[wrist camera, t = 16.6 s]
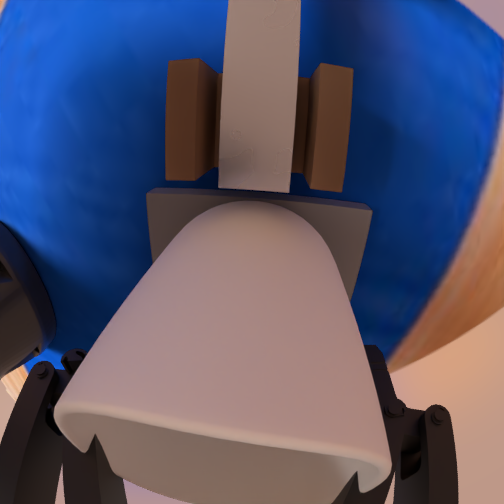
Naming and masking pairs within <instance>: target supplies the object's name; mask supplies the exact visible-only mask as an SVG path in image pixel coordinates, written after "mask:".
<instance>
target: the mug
mask: <svg viewBox="0 0 504 504" xmlns="http://www.w3.org/2000/svg"><path fill="white" fill-rule="evenodd" d="M54 419H55V422H56V424H57V426H58V427H59V429H60V430H61V432H62V433H63V434H64V435H65V437H66V438H67V439H68V440H69V441H70V442H71V443H72V444H73V445H74V446H75V447H77V448H78V449H79V450H80V451H81V452H84V453H85V452H86V451H87V450H88V448H89V446H90V444H91V441H92V439H93V437H94V435H95V434H96V436H97V438H98V440H99V441H100V443H101V445H102V447H103V450H104V452H105V455H106V457H107V459H108V461H109V464H110V467H111V469H112V471H113V472H114V473H115V474H116V475H117V476H119V477H121V478H123V479H125V480H127V481H129V482H132V483H134V484H136V485H138V486H140V487H143V488H145V489H147V490H150V491H153V492H155V493H158V494H161V495H164V496H167V497H170V498H173V499H177V500H180V501H184V502H189V503H192V504H331V503H332V502H333V501H334V500H335V499H336V497H337V496H338V495H339V493H340V492H341V490H342V489H343V488H344V486H345V485H346V484H347V482H348V481H349V480H350V478H351V477H352V476H353V474H354V473H355V472H356V471H357V473H358V483H359V490H360V492H362V493H365V492H367V491H369V490H371V489H373V488H375V487H376V486H378V485H380V484H381V483H382V482H383V481H384V480H386V479H387V477H388V476H389V474H390V472H391V467H392V462H391V456H390V451H389V445H388V440H387V435H386V431H385V426H384V422H383V417H382V413H381V408H380V404H379V400H378V396H377V392H376V388H375V384H374V381H373V377H372V373H371V370H370V366H369V362H368V359H367V355H366V352H365V349H364V345H363V342H362V339H361V335H360V332H359V329H358V326H357V323H356V320H355V317H354V314H353V311H352V308H351V305H350V302H349V299H348V296H347V293H346V290H345V287H344V284H343V282H342V279H341V276H340V273H339V271H338V268H337V265H336V263H335V260H334V258H333V256H332V254H331V252H330V249H329V248H328V246H327V244H326V243H325V241H324V240H323V238H322V237H321V235H320V234H319V233H318V232H317V231H316V230H315V229H314V228H313V227H312V225H310V224H309V223H308V222H307V221H306V220H304V219H303V218H302V217H300V216H299V215H297V214H295V213H294V212H292V211H290V210H288V209H286V208H283V207H281V206H278V205H274V204H271V203H267V202H260V201H236V202H230V203H226V204H221V205H219V206H216V207H214V208H211V209H209V210H207V211H205V212H203V213H202V214H200V215H198V216H197V217H195V218H194V219H193V220H192V221H190V222H189V223H188V224H187V225H186V226H185V227H184V228H183V229H182V230H181V231H180V232H179V233H178V234H177V235H176V236H175V238H174V239H173V240H172V241H171V242H170V244H169V245H168V246H167V247H166V248H165V250H164V251H163V252H162V253H161V255H160V256H159V257H158V258H157V260H156V261H155V262H154V263H153V265H152V266H151V267H150V268H149V270H148V271H147V272H146V273H145V275H144V276H143V277H142V279H141V280H140V281H139V282H138V284H137V285H136V286H135V288H134V289H133V290H132V292H131V293H130V294H129V296H128V297H127V298H126V300H125V301H124V302H123V304H122V305H121V306H120V308H119V309H118V311H117V312H116V313H115V315H114V316H113V318H112V319H111V320H110V322H109V323H108V325H107V326H106V327H105V329H104V330H103V332H102V333H101V335H100V336H99V337H98V339H97V340H96V342H95V343H94V345H93V346H92V348H91V349H90V351H89V352H88V354H87V355H86V357H85V358H84V360H83V361H82V363H81V365H80V366H79V368H78V369H77V371H76V372H75V374H74V376H73V377H72V379H71V380H70V382H69V384H68V385H67V387H66V388H65V390H64V392H63V393H62V395H61V397H60V398H59V400H58V402H57V404H56V405H55V408H54Z"/></svg>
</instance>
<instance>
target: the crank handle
mask: <svg viewBox="0 0 504 504" xmlns="http://www.w3.org/2000/svg"><path fill="white" fill-rule="evenodd" d="M300 12H301V0H229V4H228V14H227V26H226V38H225V51H224V65H223V80H222V98H221V119H220V145H219V181H218V188H231V189H247V190H260V191H273V192H284V193H289V188H290V177H291V165H292V154H293V141H294V128H295V114H296V99H297V83H298V64H299V42H300Z"/></svg>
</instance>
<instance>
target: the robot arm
mask: <svg viewBox="0 0 504 504" xmlns="http://www.w3.org/2000/svg"><path fill="white" fill-rule="evenodd" d="M55 334H56V321H55V316H54V312H53V308H52V305H51V302H50V300H49V297H48V295H47V292H46V290H45V288H44V286H43V283H42V281H41V279H40V277H39V275H38V273H37V272H36V270H35V268H34V266H33V264H32V263H31V261H30V259H29V258H28V256H27V254H26V253H25V251H24V250H23V248H22V247H21V246H20V244H19V243H18V241H17V240H16V239H15V238H14V236H13V235H12V234H11V233H10V232H9V231H8V229H7V228H6V227H5V226H3V225H2V224H1V223H0V380H1V378H2V377H4V376H5V375H6V374H8V373H10V372H11V371H13V370H15V369H16V368H18V367H20V366H21V365H23V364H25V363H26V362H28V361H29V360H31V359H32V358H34V357H36V356H38V355H40V354H41V353H42V352H43V351H44V350H45V349H46V348H47V346H48V345H49V344H50V343H51V341H52V340H53V339H54V337H55ZM364 349H365V352H366V355H367V359H368V362H369V366H370V370H371V373H372V377H373V381H374V384H375V388H376V392H377V396H378V400H379V404H380V408H381V413H382V417H383V422H384V426H385V431H386V435H387V440H388V445H389V451H390V456H391V462H392V467H391V472H390V474H389V476H388V477H387V479H386V480H384V481H383V482H382V483H381V484H380V485H378V486H376V487H375V488H373V489H371V490H369V491H367V492H365V493H362V492H360V490H359V483H358V473H357V471H356V472H355V473H354V474H353V476H352V477H351V478H350V480H349V481H348V482H347V484H346V485H345V486H344V488H343V489H342V490H341V492H340V493H339V495H338V496H337V497H336V499H335V500H334V501H333V502H332V503H331V504H384V503H385V500H386V497H387V494H388V492H389V489H390V485H391V482H392V479H393V475H394V472H395V487H394V501H393V504H458V473H457V461H456V451H455V442H454V435H453V429H452V422H451V417H450V414H449V412H448V410H447V409H446V408H445V407H443V406H441V405H431V406H430V407H429V408H428V409H427V410H426V411H422V410H416V409H410V408H407V407H406V405H405V404H404V403H403V402H402V401H401V400H399V399H397V397H396V394H395V391H394V388H393V384H392V381H391V378H390V375H389V372H388V371H387V366H386V363H385V360H384V357H383V354H382V352H381V351H380V350H379V349H378V347H377V346H376V345H364ZM87 354H88V353H87V352H86V351H84V350H82V349H72V350H70V351H68V352H66V353H65V354H64V355H63V356H62V358H61V363H62V365H63V366H64V368H65V370H59V369H55V368H54V366H53V365H52V364H51V363H50V362H48V361H41V362H38V363H36V364H35V365H34V366H33V368H32V369H31V371H30V373H29V375H28V377H27V379H26V381H25V383H24V385H23V388H22V390H21V392H20V394H19V396H18V399H17V401H16V403H15V406H14V408H13V411H12V413H11V416H10V418H9V421H8V423H7V426H6V429H5V432H4V435H3V437H2V441H1V444H0V504H55V499H56V492H57V487H58V481H59V476H60V471H61V466H62V464H63V485H64V497H65V504H127V499H126V494H125V489H124V483H123V478H121V477H119V476H117V475H116V474H115V473H114V472H113V471H112V469H111V467H110V464H109V461H108V459H107V457H106V455H105V452H104V450H103V447H102V445H101V443H100V441H99V440H98V438H97V436H96V434H95V435H94V437H93V439H92V441H91V444H90V446H89V448H88V450H87V451H86V452H85V453H84V452H81V451H80V450H79V449H78V448H77V447H75V446H74V445H73V444H72V443H71V442H70V441H69V440H68V439H67V438H66V437H65V435H64V434H63V433H62V432H61V430H60V429H59V427H58V426H57V424H56V422H55V419H54V408H55V405H56V404H57V402H58V400H59V398H60V397H61V395H62V393H63V392H64V390H65V388H66V387H67V385H68V384H69V382H70V380H71V379H72V377H73V376H74V374H75V372H76V371H77V369H78V368H79V366H80V365H81V363H82V361H83V360H84V358H85V357H86V355H87Z"/></svg>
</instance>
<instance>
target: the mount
mask: <svg viewBox="0 0 504 504" xmlns="http://www.w3.org/2000/svg"><path fill="white" fill-rule="evenodd" d="M222 80H223V73H220V74H218V73H217V72H216V71H214V70H213V69H212V68H211V67H210V66H208V65H207V64H206V63H205V62H203V61H202V60H201V59H200V58H194V59H183V60H173V61H169V62H168V76H167V93H166V122H165V168H166V180H186V181H195V180H197V179H198V178H199V177H201V176H202V175H204V174H205V173H207V172H208V171H209V170H211V169H212V168H214V167H219V145H220V119H221V98H222ZM352 88H353V69H352V68H347V67H342V66H337V65H331V64H325V63H320V65H319V66H318V67H317V69H316V70H315V72H314V73H313V74H312V76H311V77H310V78H304V77H298V83H297V99H296V114H295V128H294V141H293V154H292V165H291V172H294V173H303V175H304V177H305V179H306V181H307V183H308V185H309V187H310V189H317V190H326V191H334V192H341V193H342V188H343V181H344V173H345V166H346V157H347V149H348V139H349V129H350V118H351V104H352Z"/></svg>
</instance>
